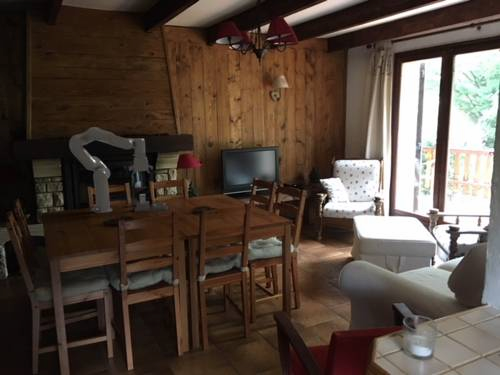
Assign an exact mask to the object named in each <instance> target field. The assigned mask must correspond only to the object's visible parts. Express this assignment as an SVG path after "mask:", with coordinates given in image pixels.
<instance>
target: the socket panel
mask: <svg viewBox="0 0 500 375" xmlns="http://www.w3.org/2000/svg"><path fill="white" fill-rule="evenodd" d="M135 206H136V207H135V208H134V213H142V212H157V211H158V212H159V211H161V212H162V211H168V210H169V206H167V204H166V202H158V203H156V202H155V203H152V206H150V205H149V201H146V203H140V202H138V201H136V205H135Z"/></svg>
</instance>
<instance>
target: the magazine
mask: <svg viewBox="0 0 500 375" xmlns="http://www.w3.org/2000/svg"><path fill="white" fill-rule="evenodd" d="M140 194H145V200H146V201H149V206H151V205H152V206H153V199H152V193H151V191H150V189H149V187H148V186H147V185H145V186H143V187H141V188H140V189H138V190H136V191H135V192H134V196H135V197H136V201H137V202H140Z"/></svg>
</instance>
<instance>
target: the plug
mask: <svg viewBox="0 0 500 375" xmlns="http://www.w3.org/2000/svg"><path fill="white" fill-rule="evenodd" d="M140 203H146V200H145V194H140Z"/></svg>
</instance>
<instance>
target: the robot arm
mask: <svg viewBox="0 0 500 375" xmlns="http://www.w3.org/2000/svg"><path fill="white" fill-rule="evenodd" d="M94 141H97V142H101V143H105V144H108V145H111V146H113V147H116V148H120V149H123V150H130V149H134V154H133V153H132V156H133V165H132V166H130V167H128V170H129V172H131V174H132V175H133V176H132V177H133V179H134V180H136V177H137V176H136V173H137V172H147V179H150V177H151V175H150V174H151V173H152V171H153V169H154V167H153V165H150V164H149V161H148V157H147V155H146V142H145V141H146V140H145V138H141V137H140V138H139V137H138V138H132V137H131V138H130V137H129V138H126V137H122V136H118V135H116V134H114V133H113V132H111V131H108V130H104V129H102V128H100V127H98V126H93V127H90V128H88V129H87V130H86V131H84V132H82V133H80V134H79V133H78V134H74V135H72V137H71V138H70V139H69V142H68V147H69V150H70V152H71V153H72V154H73V156H74V157H75V158H76V159H77V160H78V162H80V163H81V164H82V165H83V167H84V168H85V169H86V170H88V171H93V184H94V194H95V206H94V207H92V208H91V209H90V210H91V212H94V213H96V214H103V213H110V212H113V208H112V207H111V204H110V190H109V181H108V179H109V178H110V176H111V170H110V169H109V168H108V167H107V166H106V164H105V163H104V162H103V161H102V160H101V159H100V158H98V157H97V156H93V155H91V154H90V153H89V152H88V150H87V149H86V148H84V147H83V146H86V145H88V144H89V143H92V142H94ZM149 168H150V169H149Z"/></svg>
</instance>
